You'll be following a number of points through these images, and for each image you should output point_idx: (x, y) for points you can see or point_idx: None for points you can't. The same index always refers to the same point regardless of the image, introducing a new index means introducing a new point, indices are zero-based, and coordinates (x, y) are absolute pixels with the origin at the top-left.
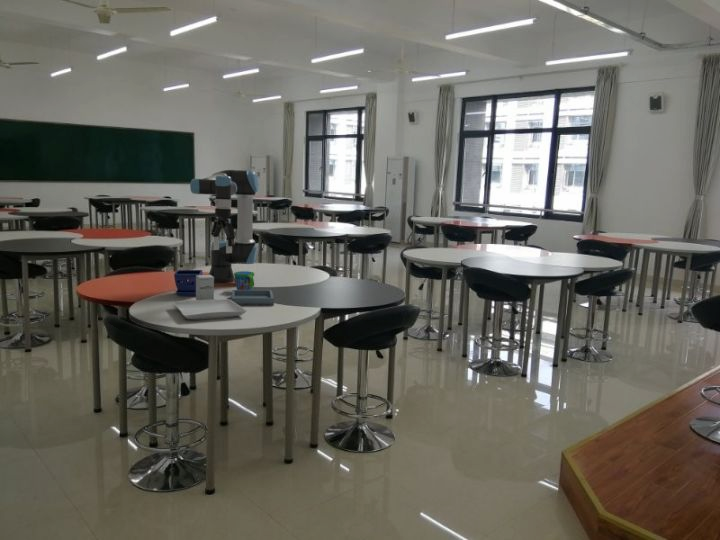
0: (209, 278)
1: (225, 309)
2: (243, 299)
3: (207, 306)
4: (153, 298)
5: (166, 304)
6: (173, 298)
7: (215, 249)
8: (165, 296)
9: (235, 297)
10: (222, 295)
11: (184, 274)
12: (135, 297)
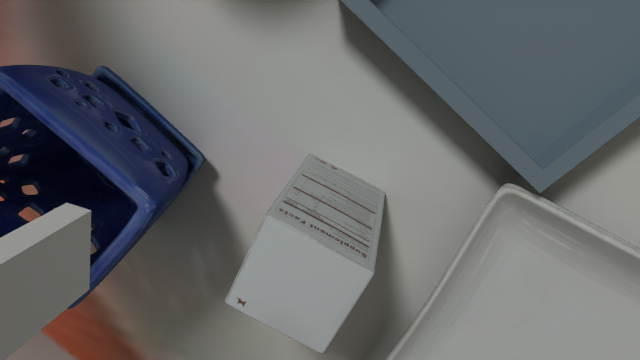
0: (359, 297)
1: (592, 287)
2: (608, 136)
3: (464, 302)
4: (137, 314)
5: (271, 354)
6: (182, 262)
7: (85, 273)
8: (125, 258)
9: (422, 40)
10: (268, 20)
11: (101, 276)
12: (86, 342)
